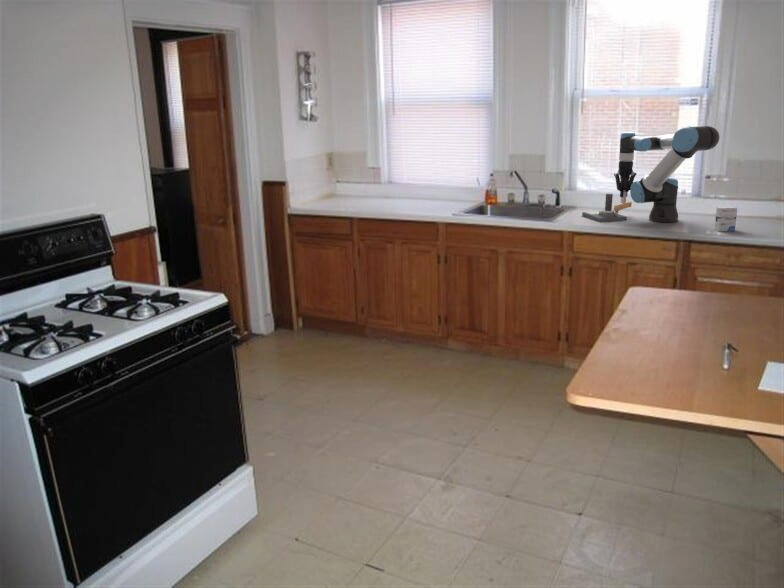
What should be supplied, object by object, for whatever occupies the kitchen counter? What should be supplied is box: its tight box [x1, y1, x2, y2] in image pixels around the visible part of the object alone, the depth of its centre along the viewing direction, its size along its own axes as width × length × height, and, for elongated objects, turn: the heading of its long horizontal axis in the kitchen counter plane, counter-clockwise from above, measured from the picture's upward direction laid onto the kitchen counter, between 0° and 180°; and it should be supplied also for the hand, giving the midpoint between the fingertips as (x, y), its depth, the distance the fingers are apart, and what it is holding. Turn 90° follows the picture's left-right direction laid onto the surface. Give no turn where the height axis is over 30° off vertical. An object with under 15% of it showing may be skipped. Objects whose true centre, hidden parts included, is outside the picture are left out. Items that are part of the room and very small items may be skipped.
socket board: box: [581, 210, 627, 223], centre depth 397 cm, size 20×16×5 cm
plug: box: [602, 193, 615, 214], centre depth 391 cm, size 6×6×12 cm
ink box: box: [714, 206, 738, 232], centre depth 358 cm, size 8×5×12 cm, turn 92°
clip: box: [613, 201, 632, 212], centre depth 394 cm, size 17×3×3 cm, turn 137°
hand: (623, 202), depth 399 cm, fingers closed
